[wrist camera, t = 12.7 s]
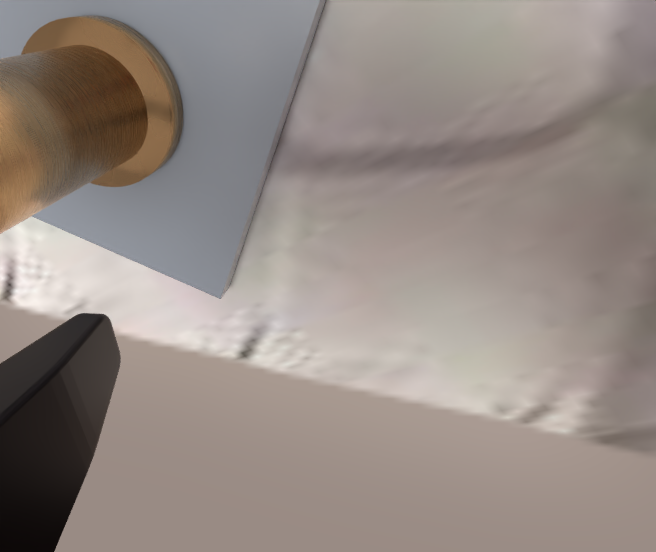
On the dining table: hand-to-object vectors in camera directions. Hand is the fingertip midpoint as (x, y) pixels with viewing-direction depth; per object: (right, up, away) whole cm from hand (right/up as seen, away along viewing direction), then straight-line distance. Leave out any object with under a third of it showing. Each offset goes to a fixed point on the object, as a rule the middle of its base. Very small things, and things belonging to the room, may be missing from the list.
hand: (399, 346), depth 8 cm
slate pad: (-9, +8, +12) cm, 17 cm away
